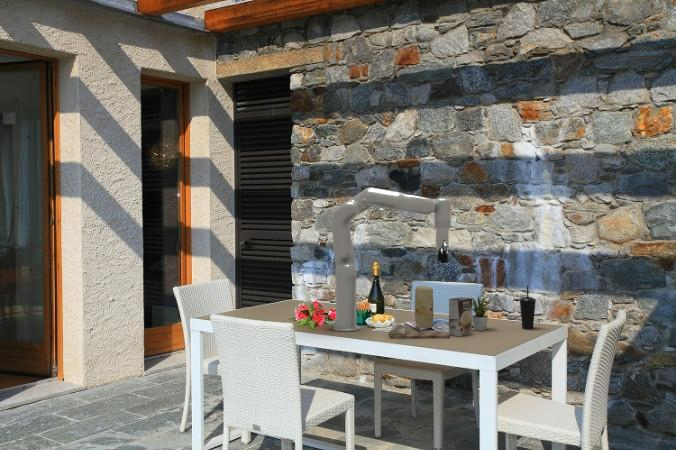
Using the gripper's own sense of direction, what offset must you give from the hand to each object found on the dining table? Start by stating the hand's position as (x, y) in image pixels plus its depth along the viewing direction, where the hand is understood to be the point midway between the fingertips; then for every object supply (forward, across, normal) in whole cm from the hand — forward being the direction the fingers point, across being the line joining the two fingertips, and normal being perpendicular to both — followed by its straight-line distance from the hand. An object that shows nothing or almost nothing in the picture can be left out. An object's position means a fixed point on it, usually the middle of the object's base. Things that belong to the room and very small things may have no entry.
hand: (442, 261), depth 341 cm
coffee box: (+32, +14, +6) cm, 35 cm away
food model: (+31, 0, -9) cm, 33 cm away
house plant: (+31, +4, +17) cm, 36 cm away
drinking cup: (+31, +1, +39) cm, 50 cm away
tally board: (+31, +18, -13) cm, 38 cm away
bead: (+30, +18, -22) cm, 41 cm away
